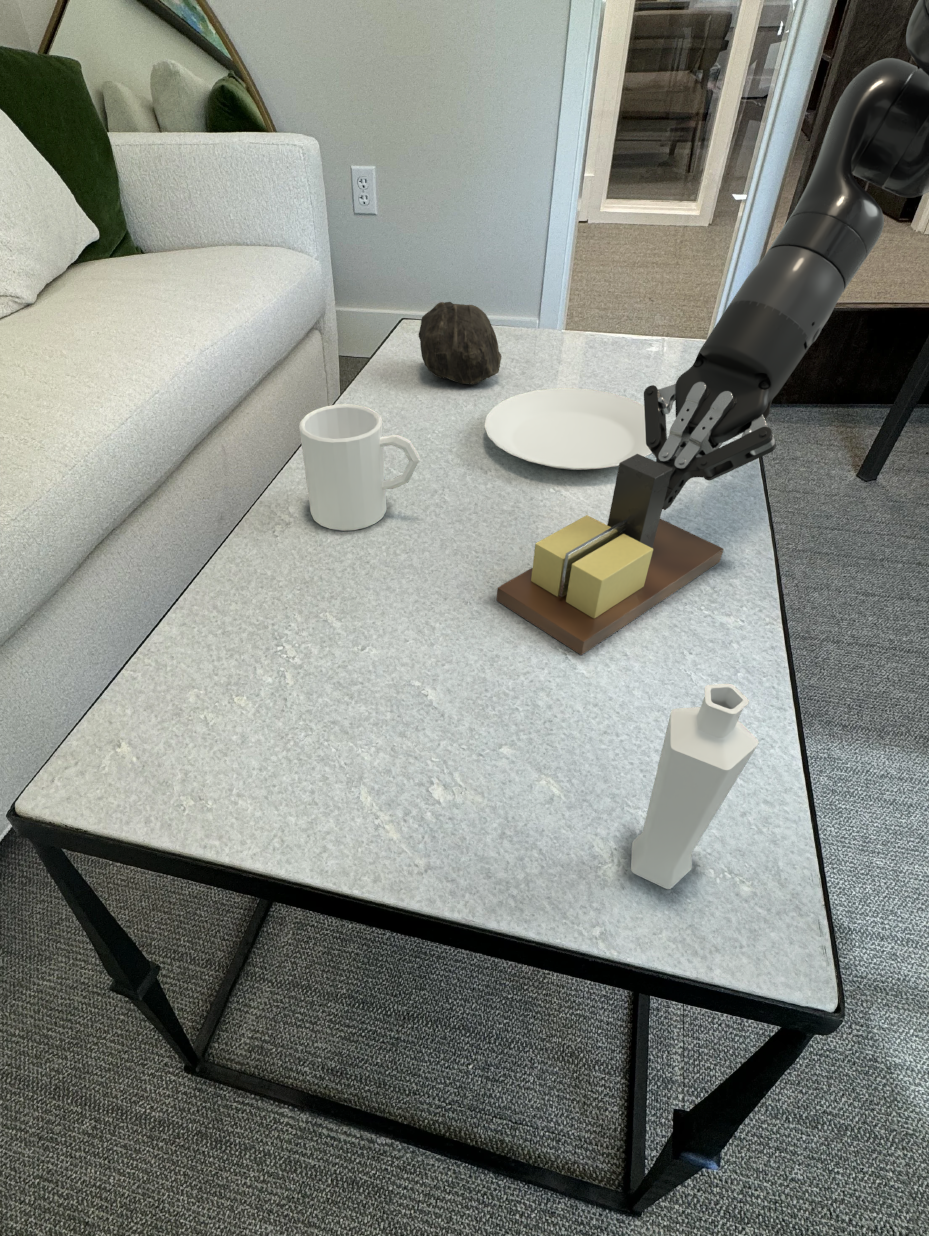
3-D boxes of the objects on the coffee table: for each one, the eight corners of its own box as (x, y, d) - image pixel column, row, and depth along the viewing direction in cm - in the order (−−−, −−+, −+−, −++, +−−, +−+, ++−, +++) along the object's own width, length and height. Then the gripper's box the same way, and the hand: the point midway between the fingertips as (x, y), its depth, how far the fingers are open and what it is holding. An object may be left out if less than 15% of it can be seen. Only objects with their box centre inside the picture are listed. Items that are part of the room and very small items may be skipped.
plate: (652, 407, 93) (656, 390, 91) (669, 491, 78) (674, 472, 77) (489, 402, 96) (490, 385, 94) (477, 482, 81) (478, 463, 80)
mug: (410, 541, 73) (407, 448, 66) (299, 525, 76) (286, 435, 69) (430, 500, 79) (430, 411, 72) (327, 487, 81) (317, 400, 74)
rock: (498, 388, 96) (493, 304, 90) (416, 395, 99) (405, 314, 93) (507, 367, 104) (502, 288, 98) (430, 374, 107) (421, 298, 101)
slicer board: (634, 520, 75) (637, 507, 74) (719, 562, 69) (724, 548, 68) (496, 600, 66) (497, 587, 65) (581, 655, 61) (583, 642, 60)
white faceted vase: (705, 849, 47) (785, 685, 37) (684, 902, 45) (763, 741, 34) (637, 819, 49) (693, 654, 38) (613, 868, 46) (666, 705, 36)
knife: (617, 544, 69) (637, 453, 62) (649, 560, 67) (672, 468, 60) (544, 587, 64) (557, 494, 58) (576, 606, 62) (592, 512, 56)
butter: (580, 551, 69) (586, 514, 66) (644, 586, 64) (653, 548, 62) (530, 580, 66) (535, 543, 63) (594, 619, 62) (601, 580, 59)
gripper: (690, 280, 62) (574, 464, 65) (841, 319, 54) (701, 523, 58) (711, 330, 68) (603, 495, 71) (849, 371, 60) (722, 552, 64)
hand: (647, 507), depth 65 cm, fingers closed
